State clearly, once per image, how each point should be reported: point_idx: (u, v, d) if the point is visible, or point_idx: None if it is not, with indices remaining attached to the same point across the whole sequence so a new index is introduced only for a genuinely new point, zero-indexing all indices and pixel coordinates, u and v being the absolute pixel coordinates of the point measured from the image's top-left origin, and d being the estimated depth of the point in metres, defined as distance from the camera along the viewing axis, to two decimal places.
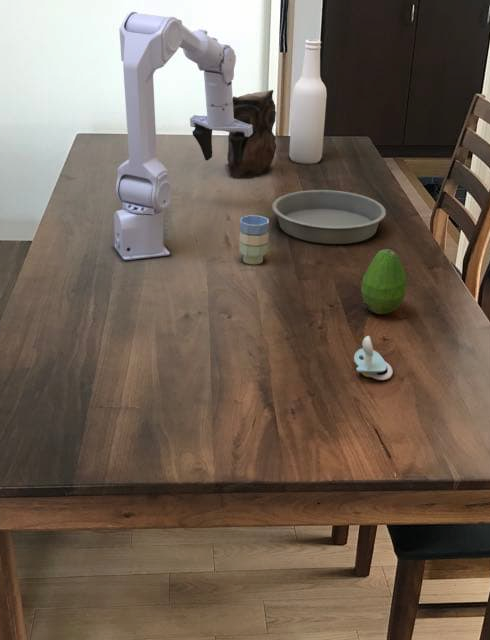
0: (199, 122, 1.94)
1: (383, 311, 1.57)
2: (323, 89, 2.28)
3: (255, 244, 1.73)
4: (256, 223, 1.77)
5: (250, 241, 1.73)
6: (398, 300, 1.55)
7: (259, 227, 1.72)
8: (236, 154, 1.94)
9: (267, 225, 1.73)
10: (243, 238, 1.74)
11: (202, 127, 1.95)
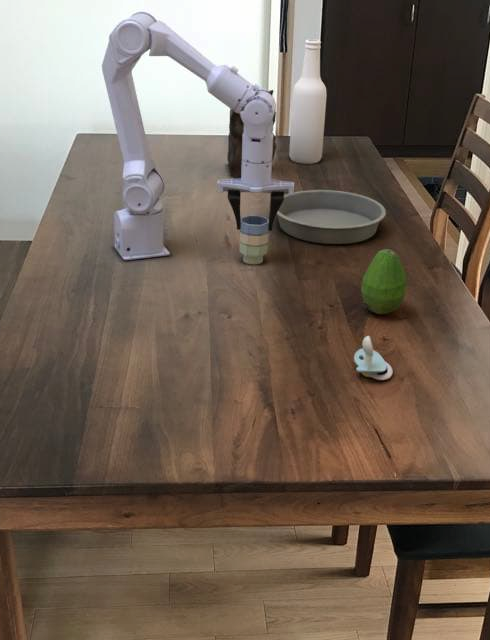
0: None
1: (383, 311, 1.57)
2: (323, 89, 2.28)
3: (255, 244, 1.73)
4: (256, 223, 1.77)
5: (250, 241, 1.73)
6: (398, 300, 1.55)
7: (260, 227, 1.72)
8: None
9: (267, 225, 1.73)
10: (243, 238, 1.74)
11: None
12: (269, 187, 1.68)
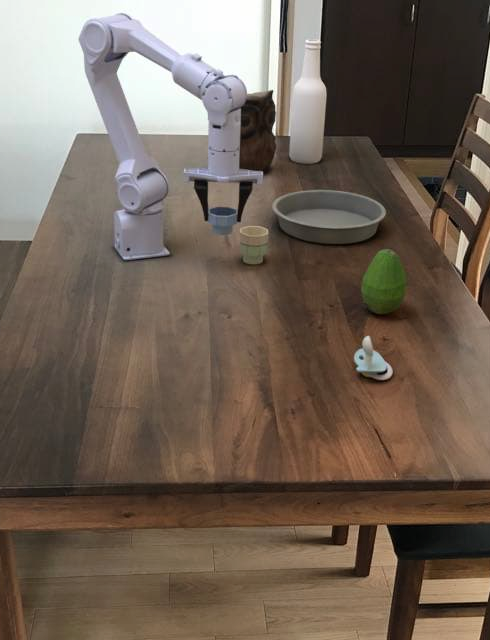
0: None
1: (383, 311, 1.57)
2: (323, 89, 2.28)
3: (255, 244, 1.73)
4: (225, 214, 1.70)
5: (250, 241, 1.73)
6: (398, 300, 1.55)
7: (228, 219, 1.65)
8: None
9: (236, 216, 1.66)
10: (243, 238, 1.74)
11: None
12: (237, 176, 1.62)
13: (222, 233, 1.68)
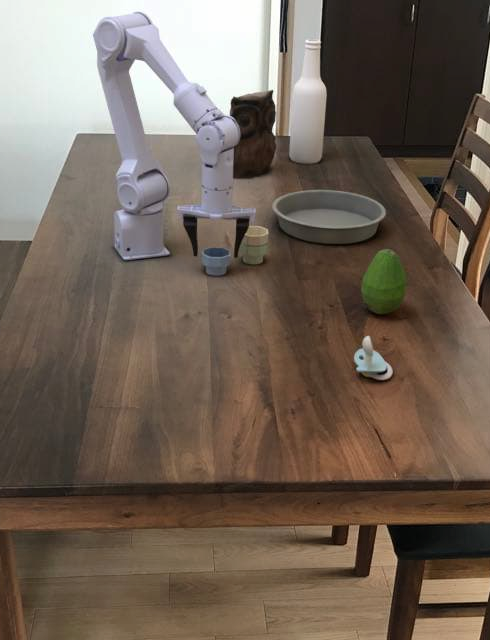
0: None
1: (383, 311, 1.57)
2: (323, 89, 2.28)
3: (255, 244, 1.73)
4: (219, 255, 1.73)
5: (250, 241, 1.73)
6: (398, 300, 1.55)
7: (221, 260, 1.69)
8: None
9: (229, 257, 1.70)
10: (243, 238, 1.74)
11: None
12: (230, 214, 1.64)
13: (215, 273, 1.71)
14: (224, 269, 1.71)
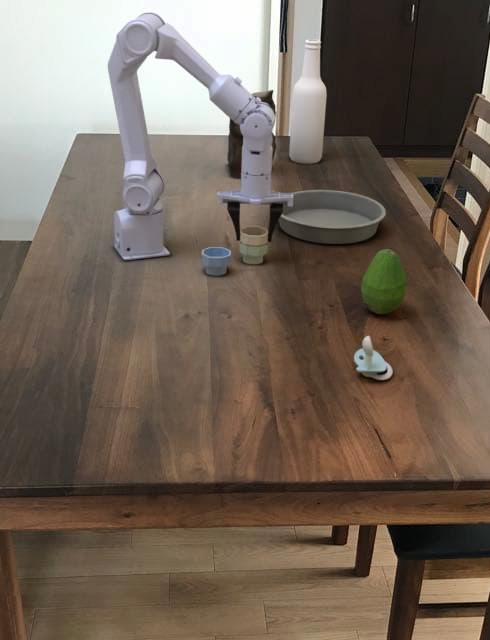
0: None
1: (383, 311, 1.57)
2: (323, 89, 2.28)
3: (255, 244, 1.73)
4: (219, 255, 1.73)
5: (250, 241, 1.73)
6: (398, 300, 1.55)
7: (221, 260, 1.69)
8: None
9: (229, 257, 1.70)
10: (243, 238, 1.74)
11: None
12: (268, 199, 1.69)
13: (215, 273, 1.71)
14: (224, 269, 1.71)
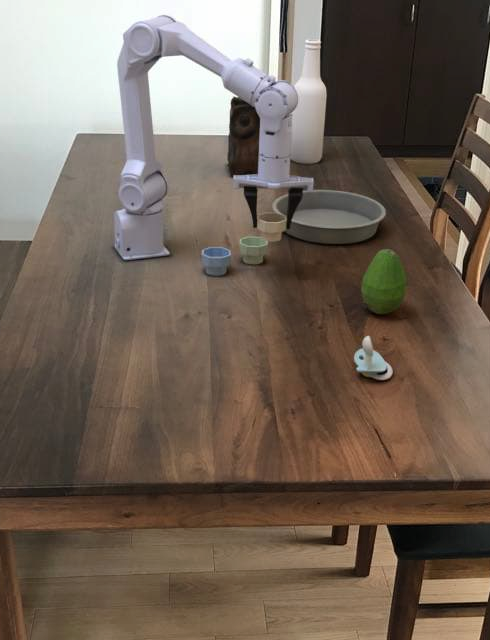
0: None
1: (383, 311, 1.57)
2: (323, 89, 2.28)
3: (273, 231, 1.64)
4: (219, 255, 1.73)
5: (268, 228, 1.64)
6: (398, 300, 1.55)
7: (221, 260, 1.69)
8: None
9: (229, 257, 1.70)
10: (260, 225, 1.64)
11: None
12: (287, 183, 1.60)
13: (215, 273, 1.71)
14: (224, 269, 1.71)
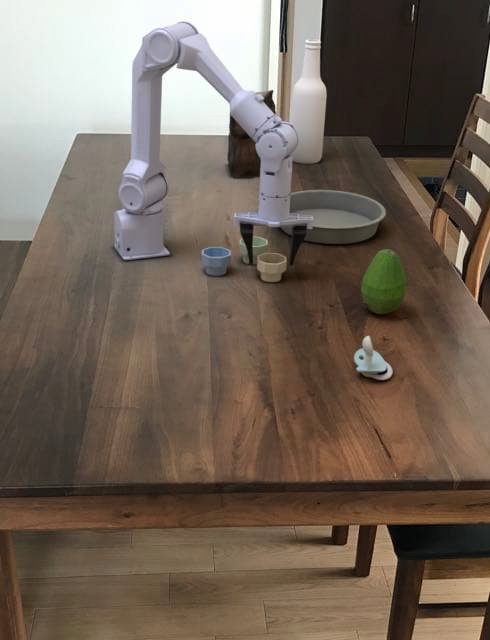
0: None
1: (383, 311, 1.57)
2: (323, 89, 2.28)
3: (273, 272, 1.67)
4: (219, 255, 1.73)
5: (268, 269, 1.67)
6: (398, 300, 1.55)
7: (221, 260, 1.69)
8: None
9: (229, 257, 1.70)
10: (261, 266, 1.68)
11: None
12: (287, 221, 1.63)
13: (215, 273, 1.71)
14: (224, 269, 1.71)
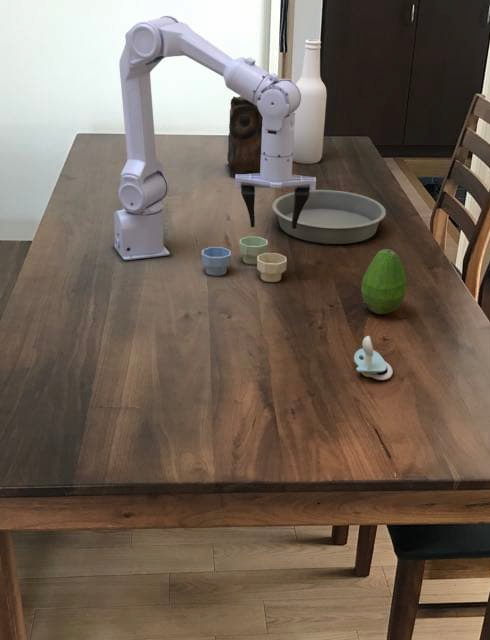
0: None
1: (383, 311, 1.57)
2: (323, 89, 2.28)
3: (273, 272, 1.67)
4: (219, 255, 1.73)
5: (268, 269, 1.67)
6: (398, 300, 1.55)
7: (221, 260, 1.69)
8: None
9: (229, 257, 1.70)
10: (261, 266, 1.68)
11: None
12: (290, 182, 1.59)
13: (215, 273, 1.71)
14: (224, 269, 1.71)
